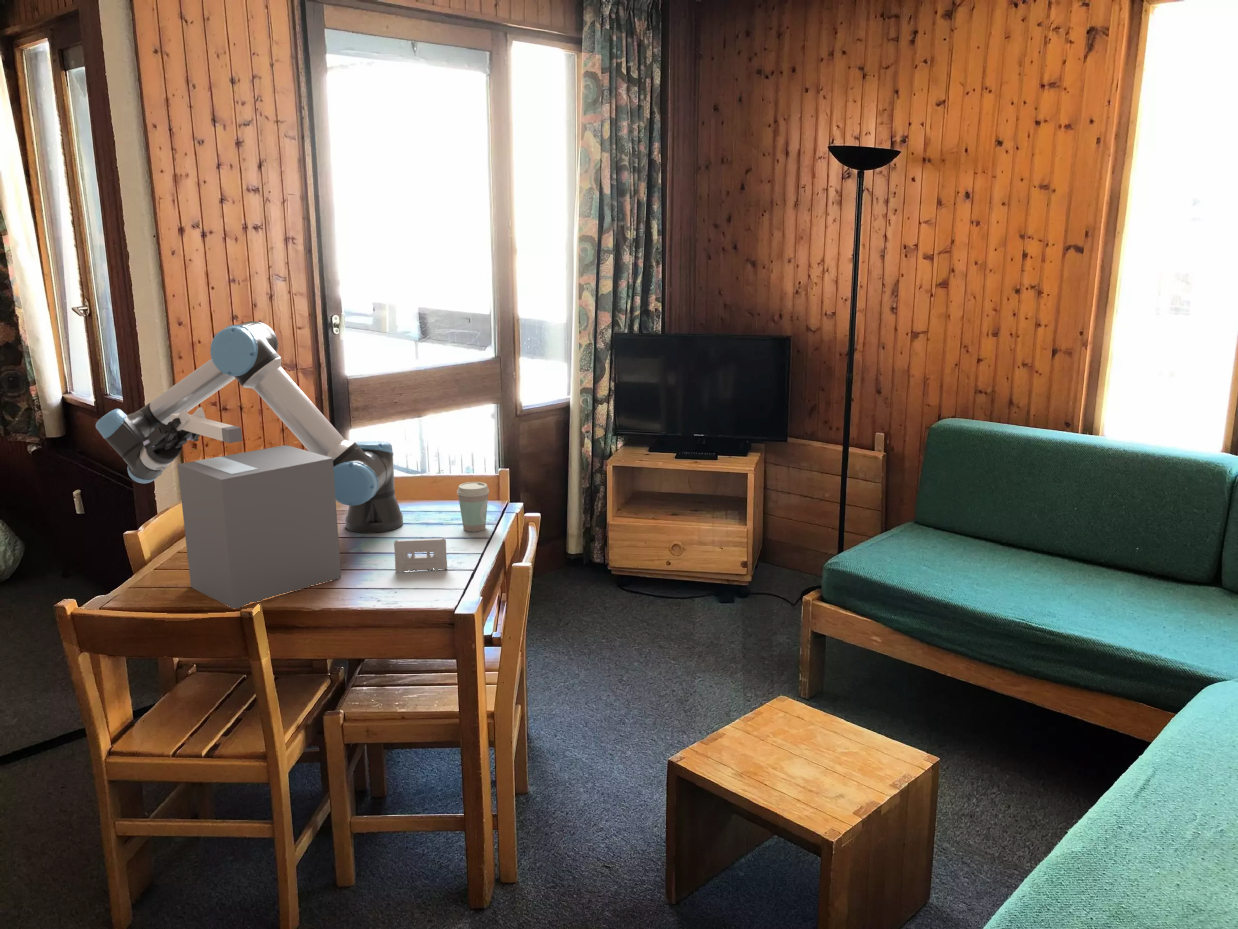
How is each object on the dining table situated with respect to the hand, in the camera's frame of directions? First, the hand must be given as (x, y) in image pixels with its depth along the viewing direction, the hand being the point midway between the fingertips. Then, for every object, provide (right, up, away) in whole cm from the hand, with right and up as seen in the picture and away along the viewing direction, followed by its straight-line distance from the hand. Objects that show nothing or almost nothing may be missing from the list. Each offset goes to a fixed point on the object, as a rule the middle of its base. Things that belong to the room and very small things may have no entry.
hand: (194, 413), depth 232 cm
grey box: (+18, -39, -4) cm, 43 cm away
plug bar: (+4, -5, -2) cm, 6 cm away
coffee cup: (+60, -29, +36) cm, 76 cm away
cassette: (+52, -37, +4) cm, 64 cm away
